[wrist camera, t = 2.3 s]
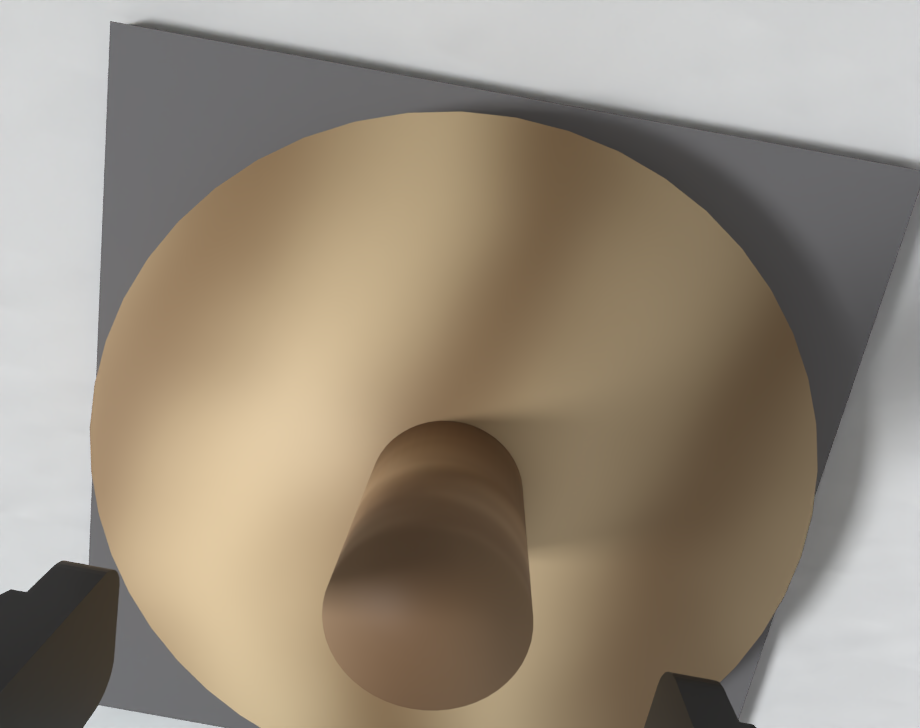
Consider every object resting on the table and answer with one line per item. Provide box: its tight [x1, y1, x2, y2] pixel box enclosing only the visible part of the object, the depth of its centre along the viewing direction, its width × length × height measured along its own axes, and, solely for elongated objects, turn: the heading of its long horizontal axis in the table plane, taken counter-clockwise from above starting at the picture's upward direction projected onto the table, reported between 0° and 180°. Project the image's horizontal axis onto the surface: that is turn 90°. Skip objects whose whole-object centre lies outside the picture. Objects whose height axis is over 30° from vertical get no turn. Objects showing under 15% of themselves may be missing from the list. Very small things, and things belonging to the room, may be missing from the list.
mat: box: [89, 21, 920, 728], centre depth 19 cm, size 18×18×1 cm
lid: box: [90, 111, 818, 728], centre depth 15 cm, size 17×17×6 cm
